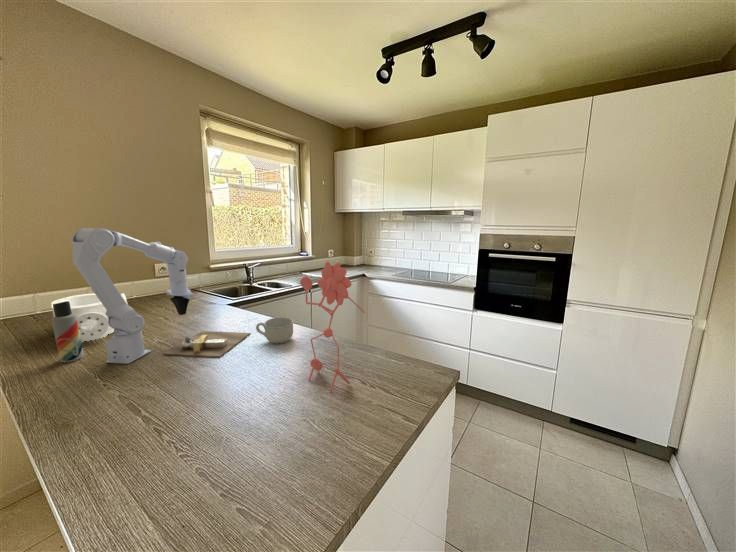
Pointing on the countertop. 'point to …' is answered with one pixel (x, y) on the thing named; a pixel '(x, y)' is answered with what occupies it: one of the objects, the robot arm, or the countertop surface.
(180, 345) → the walnut board
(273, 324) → the teacup
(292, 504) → the countertop surface
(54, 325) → the lotion bottle
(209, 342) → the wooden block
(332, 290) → the figurine
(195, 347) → the brass keeper
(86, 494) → the countertop surface
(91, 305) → the housing
